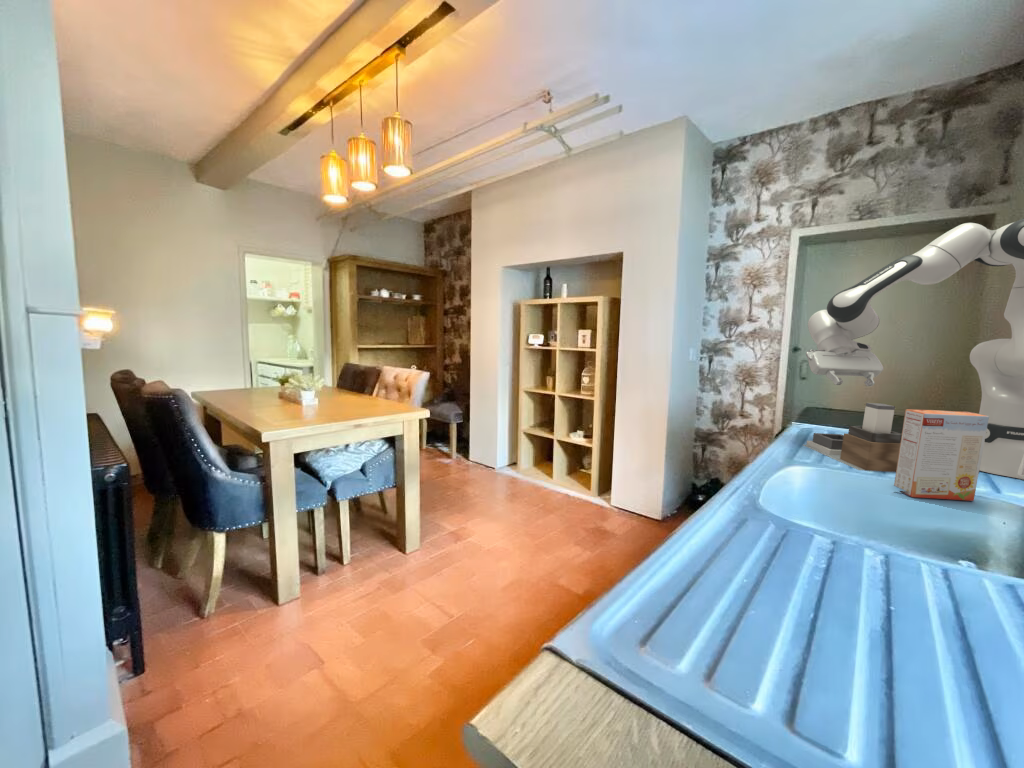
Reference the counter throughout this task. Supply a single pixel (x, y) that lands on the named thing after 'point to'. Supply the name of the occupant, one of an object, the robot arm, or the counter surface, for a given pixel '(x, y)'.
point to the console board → (837, 458)
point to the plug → (878, 418)
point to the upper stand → (871, 449)
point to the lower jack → (827, 443)
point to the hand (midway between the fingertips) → (854, 384)
